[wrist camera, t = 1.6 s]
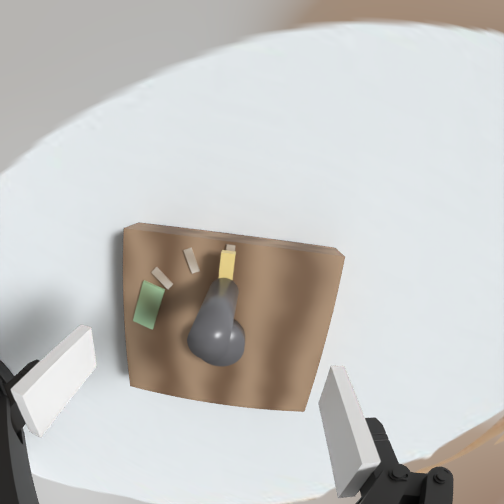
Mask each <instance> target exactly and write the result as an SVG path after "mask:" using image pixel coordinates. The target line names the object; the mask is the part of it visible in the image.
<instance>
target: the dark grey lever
mask: <svg viewBox="0 0 504 504" xmlns="http://www.w3.org/2000/svg"><path fill="white" fill-rule="evenodd" d="M235 256H236V252H235V251H227V250H222V252H221V259H220V268H219V278H218V279H216V280H215V281H213V282H212V284H211V286H210V288H209V290H208V292H207V294H206V297H205V299H204V301H203V303H202V305H201V308H200V310H199V312H198V314H197V316H196V319H195V321H194V323H193V325H192V328H191V330H190V332H189V334H188V337H187V343H188V347H189V349H190V350H191V352H192V353H193V354H194V355H196V356H197V357H199V358H201V359H202V360H203V361H205V362H207V363H208V364H211V365H214V366H229V365H232V364H234V363H236V362H237V361H238V360H239V359H240V358H241V357H242V355H243V353H244V347H245V332H244V329H243V327H242V326H241V324H240V323H239V322H238V321H236V320H235V319H234V315H235V310H236V305H237V299H238V294H239V290H238V287H237V285H236V283H235V282H234V281H233V273H234V264H235Z"/></svg>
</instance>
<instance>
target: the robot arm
mask: <svg viewBox="0 0 504 504" xmlns="http://www.w3.org/2000/svg"><path fill="white" fill-rule="evenodd" d="M96 367H97V363H96V357H95V350H94V343H93V336H92V328H91V327H88V326H85V325H79V326H78V327H77V328H76V329H75V330H74V331H73V332H71V333H70V334H69V335H68V336H67V337H66V338H65V339H64V340H62V341H61V342H60V343H59V344H58V345H57V346H56V347H55V348H54V349H53V350H51V351H50V352H49V353H48V354H47V355H46V356H45V357H44V358H43V359H42V360H41V361H39V360H35V361H32V362H30V363H28V364H27V365H26V366H25V367H24V368H23V370H21V371H20V372H19V373H18V374H16V375H15V376H13V375H12V373H11V372H10V371H9V370H8V368H7V367H6V366H5V365H4V364H3V363H2V362H1V361H0V504H39V502H38V498H37V495H36V491H35V487H34V483H33V479H32V475H31V470H30V465H29V459H28V454H27V448H26V442H25V434H24V431H23V426H24V425H25V424H26V426H27V428H28V430H29V432H31V433H33V434H34V435H36V436H38V437H40V438H42V437H43V435H44V434H45V433H46V431H47V430H48V429H49V427H50V426H51V425H52V423H53V422H54V421H55V419H56V418H57V417H58V415H59V414H60V413H61V411H62V410H63V409H64V408H65V406H66V405H67V404H68V402H69V401H70V400H71V399H72V397H73V396H74V395H75V393H76V392H77V391H78V390H79V388H80V387H81V386H82V385H83V383H84V382H85V381H86V380H87V378H88V377H89V376H90V375H91V373H92V372H93V371H94V370H95V368H96ZM318 404H319V408H320V413H321V417H322V422H323V427H324V431H325V436H326V441H327V446H328V450H329V455H330V460H331V465H332V470H333V475H334V480H335V485H336V490H337V495H338V498H343V497H353V496H355V495H356V494H357V493H358V492H359V490H360V492H361V496H362V497H361V498H360V499H359V500H358V502H357V503H356V504H452V501H453V475H452V473H451V472H450V471H449V470H447V469H446V468H444V467H435V468H432V469H431V470H430V471H429V472H428V474H425V473H413V472H410V470H409V469H408V468H407V467H406V466H404V465H402V464H399V463H398V461H397V458H396V456H395V453H394V451H393V449H392V446H391V444H390V441H389V440H388V437H387V434H386V432H385V429H384V427H383V425H382V424H381V423H380V422H379V421H378V420H377V419H376V418H365V417H364V415H363V412H362V409H361V407H360V404H359V402H358V399H357V396H356V394H355V391H354V389H353V386H352V384H351V381H350V379H349V376H348V374H347V371H346V369H345V366H331V367H330V370H329V373H328V376H327V380H326V383H325V386H324V389H323V392H322V394H321V397H320V400H319V403H318Z"/></svg>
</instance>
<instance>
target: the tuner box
mask: <svg viewBox="0 0 504 504" xmlns="http://www.w3.org/2000/svg"><path fill="white" fill-rule="evenodd" d="M222 250H227V251H235V252H236V256H235V264H234V273H233V281H234V282H235V283H236V285H237V287H238V290H239V294H238V299H237V305H236V310H235V315H234V319H235V320H236V321H238V322H239V323H240V324H241V326H242V327H243V329H244V332H245V347H244V353H243V355H242V357H241V358H240V359H239V360H238V361H237V362H236V363H234V364H232V365H229V366H214V365H211V364H208V363H207V362H205V361H203V360H202V359H201V358H199V357H197V356H196V355H194V354H193V353H192V352H191V350H190V349H189V347H188V343H187V337H188V334H189V332H190V330H191V328H192V325H193V323H194V321H195V319H196V316H197V314H198V312H199V310H200V308H201V305H202V303H203V301H204V299H205V297H206V294H207V292H208V290H209V288H210V286H211V284H212V282H213V281H215V280H216V279H218V278H219V268H220V259H221V252H222ZM344 259H345V256H344V255H343V254H341V253H340V252H339V251H338V250H337V249H336V248H333V247H326V246H319V245H312V244H304V243H297V242H290V241H282V240H275V239H267V238H260V237H252V236H244V235H237V234H229V233H221V232H213V231H205V230H197V229H188V228H180V227H172V226H163V225H155V224H146V223H136V224H134V225H131V226H128V227H126V228H124V237H123V300H124V323H125V338H126V350H127V361H128V371H129V379H130V386H132V387H136V388H140V389H144V390H148V391H152V392H157V393H161V394H166V395H171V396H176V397H181V398H186V399H191V400H197V401H203V402H209V403H216V404H223V405H230V406H238V407H247V408H257V409H268V410H282V411H301V412H304V411H305V408H306V405H307V402H308V399H309V395H310V392H311V389H312V386H313V383H314V379H315V376H316V373H317V369H318V366H319V362H320V359H321V355H322V352H323V348H324V344H325V341H326V337H327V333H328V329H329V325H330V321H331V317H332V313H333V309H334V305H335V301H336V297H337V292H338V288H339V283H340V279H341V274H342V269H343V264H344Z"/></svg>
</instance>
